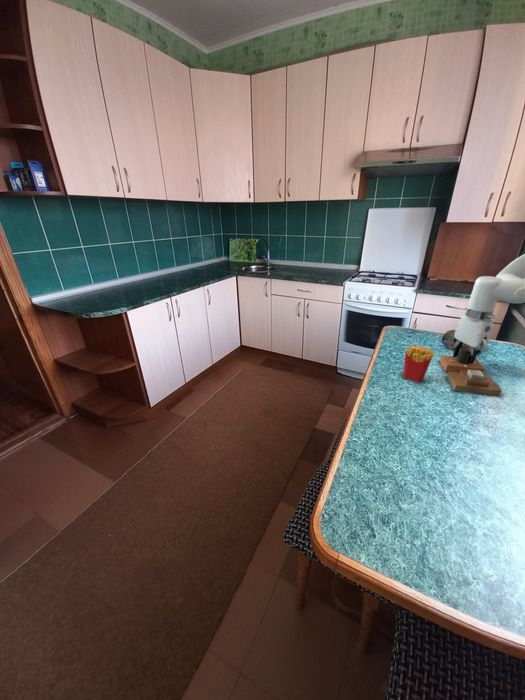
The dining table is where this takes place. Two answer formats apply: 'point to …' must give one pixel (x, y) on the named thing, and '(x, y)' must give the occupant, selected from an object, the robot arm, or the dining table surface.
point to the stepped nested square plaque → (473, 384)
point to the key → (475, 374)
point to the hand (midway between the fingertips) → (462, 359)
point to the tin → (451, 341)
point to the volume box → (459, 365)
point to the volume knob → (463, 354)
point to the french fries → (417, 362)
